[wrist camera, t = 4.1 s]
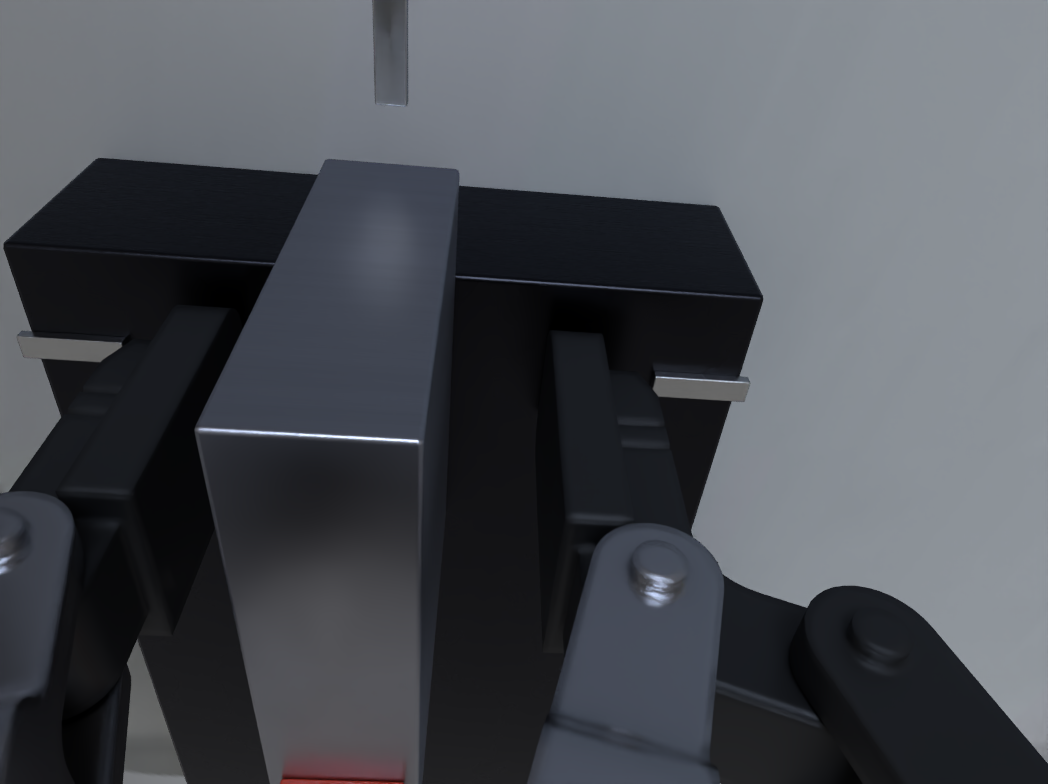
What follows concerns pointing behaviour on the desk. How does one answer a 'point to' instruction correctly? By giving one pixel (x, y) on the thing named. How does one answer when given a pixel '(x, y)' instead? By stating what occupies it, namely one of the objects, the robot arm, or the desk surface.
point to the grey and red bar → (341, 474)
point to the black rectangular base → (475, 402)
